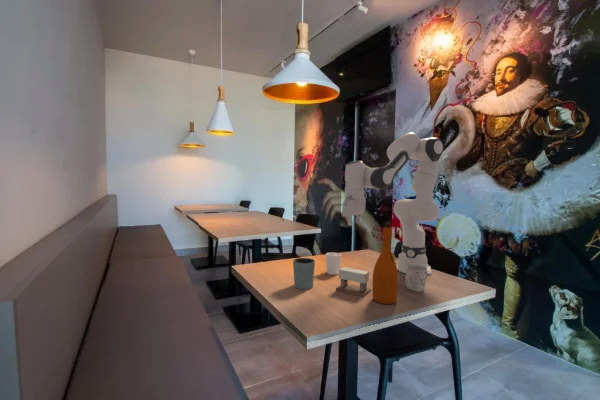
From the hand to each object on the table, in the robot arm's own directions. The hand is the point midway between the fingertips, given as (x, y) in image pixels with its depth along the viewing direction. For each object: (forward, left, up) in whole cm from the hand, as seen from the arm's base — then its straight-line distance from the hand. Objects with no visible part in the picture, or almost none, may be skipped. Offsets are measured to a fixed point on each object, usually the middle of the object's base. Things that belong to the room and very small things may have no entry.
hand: (354, 224), depth 144 cm
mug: (-5, +27, -28) cm, 40 cm away
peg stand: (+12, +5, -28) cm, 31 cm away
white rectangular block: (+11, +5, -23) cm, 26 cm away
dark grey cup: (+20, -16, -28) cm, 38 cm away
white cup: (-6, -14, -28) cm, 32 cm away
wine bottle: (+14, +20, -28) cm, 37 cm away
